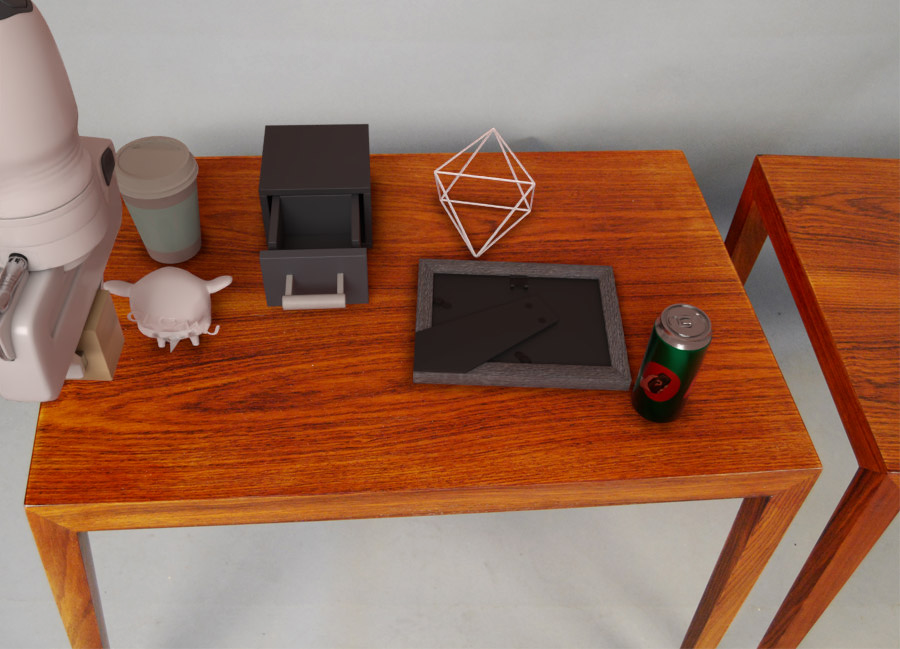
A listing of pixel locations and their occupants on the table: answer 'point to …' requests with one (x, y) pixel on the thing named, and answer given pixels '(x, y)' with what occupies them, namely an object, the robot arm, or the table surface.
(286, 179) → the dark grey box
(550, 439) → the table surface
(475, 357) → the picture frame
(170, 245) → the coffee cup
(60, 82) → the robot arm
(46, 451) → the table surface
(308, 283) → the open drawer with handle
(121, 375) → the table surface
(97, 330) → the block
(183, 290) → the figurine
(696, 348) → the soda can
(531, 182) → the geometric polyhedron
